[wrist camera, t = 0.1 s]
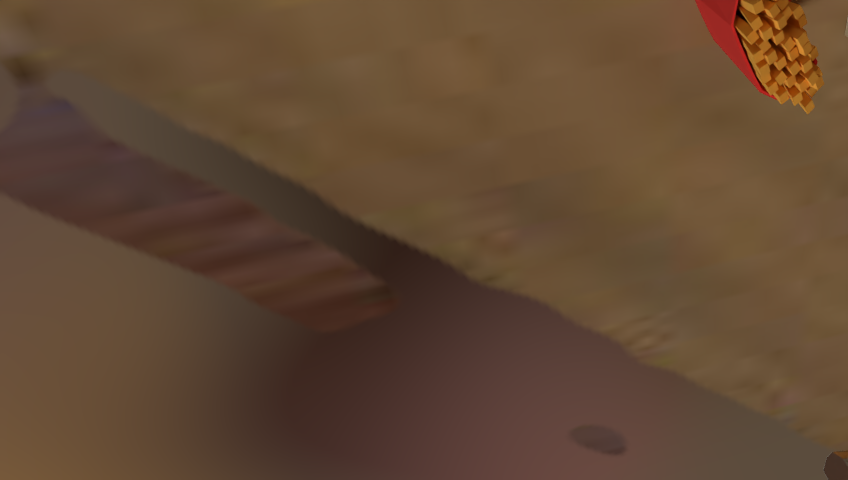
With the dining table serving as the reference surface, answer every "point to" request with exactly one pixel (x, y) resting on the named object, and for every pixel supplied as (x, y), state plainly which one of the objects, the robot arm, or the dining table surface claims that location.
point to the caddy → (847, 32)
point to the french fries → (767, 46)
